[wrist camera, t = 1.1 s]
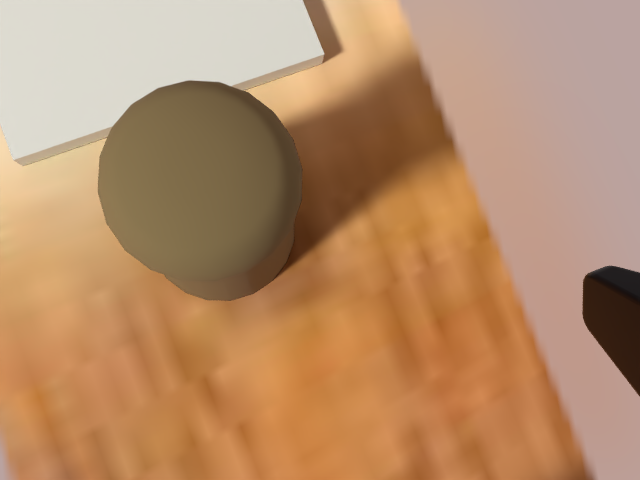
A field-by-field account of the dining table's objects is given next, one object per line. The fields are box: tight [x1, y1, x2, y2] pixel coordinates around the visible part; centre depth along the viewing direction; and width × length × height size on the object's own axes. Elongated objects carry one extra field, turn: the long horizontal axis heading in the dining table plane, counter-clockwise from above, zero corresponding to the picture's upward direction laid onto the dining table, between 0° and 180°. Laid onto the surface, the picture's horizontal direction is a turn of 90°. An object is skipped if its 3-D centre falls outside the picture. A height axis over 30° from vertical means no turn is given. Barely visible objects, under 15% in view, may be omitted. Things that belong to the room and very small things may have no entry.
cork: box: [98, 80, 302, 301], centre depth 20 cm, size 6×6×11 cm
